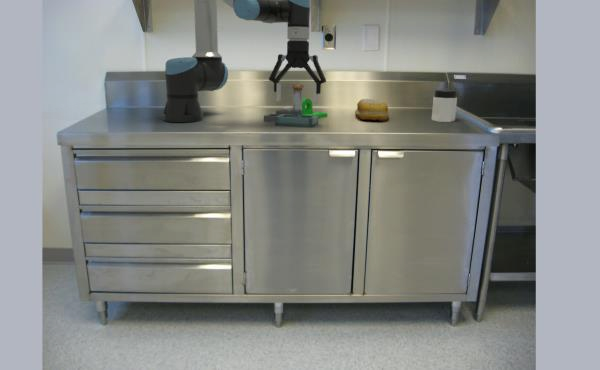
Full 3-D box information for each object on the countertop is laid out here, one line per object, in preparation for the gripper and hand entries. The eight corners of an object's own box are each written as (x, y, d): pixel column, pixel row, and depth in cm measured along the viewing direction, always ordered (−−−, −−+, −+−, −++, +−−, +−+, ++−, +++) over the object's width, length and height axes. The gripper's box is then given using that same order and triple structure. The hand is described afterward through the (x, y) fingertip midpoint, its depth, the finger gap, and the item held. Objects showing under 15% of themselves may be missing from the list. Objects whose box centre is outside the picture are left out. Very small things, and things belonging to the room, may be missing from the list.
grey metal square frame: (263, 121, 188) (263, 115, 187) (269, 119, 194) (269, 113, 194) (281, 121, 186) (281, 116, 186) (286, 119, 193) (286, 114, 192)
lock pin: (289, 122, 177) (290, 85, 174) (292, 120, 181) (293, 84, 178) (301, 122, 176) (302, 85, 173) (304, 121, 180) (305, 84, 177)
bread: (357, 122, 189) (358, 101, 187) (352, 115, 215) (353, 96, 213) (392, 123, 189) (394, 102, 187) (383, 115, 214) (384, 96, 213)
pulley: (272, 117, 198) (272, 107, 197) (279, 115, 207) (279, 105, 206) (294, 118, 196) (294, 108, 195) (300, 116, 204) (300, 106, 203)
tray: (275, 125, 176) (275, 116, 176) (283, 122, 185) (283, 114, 184) (312, 127, 173) (312, 118, 172) (318, 123, 182) (318, 115, 181)
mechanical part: (310, 120, 194) (310, 99, 192) (299, 119, 197) (299, 98, 195) (330, 118, 202) (330, 98, 200) (319, 116, 206) (319, 97, 204)
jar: (458, 122, 193) (461, 91, 190) (441, 123, 190) (444, 91, 187) (445, 119, 201) (447, 89, 198) (427, 120, 198) (430, 89, 195)
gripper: (260, 39, 172) (260, 101, 177) (331, 40, 165) (329, 105, 171) (267, 40, 179) (266, 100, 184) (335, 41, 172) (333, 103, 178)
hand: (296, 102), depth 177 cm, fingers open, 13 cm apart
